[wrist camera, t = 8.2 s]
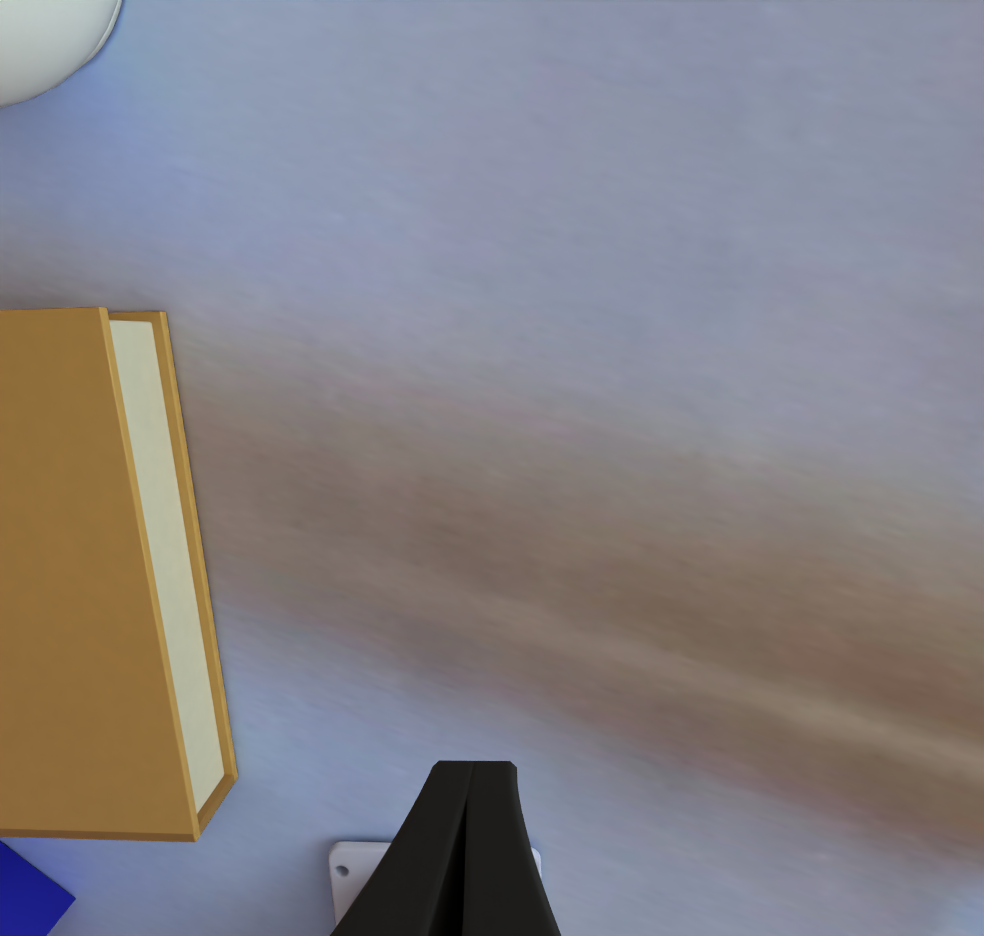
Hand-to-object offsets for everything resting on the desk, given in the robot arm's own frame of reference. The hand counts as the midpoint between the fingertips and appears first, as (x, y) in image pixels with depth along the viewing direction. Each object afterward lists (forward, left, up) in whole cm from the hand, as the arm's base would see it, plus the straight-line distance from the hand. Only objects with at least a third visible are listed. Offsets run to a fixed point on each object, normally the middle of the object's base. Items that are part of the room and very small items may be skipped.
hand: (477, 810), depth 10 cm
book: (0, +16, -9) cm, 19 cm away
